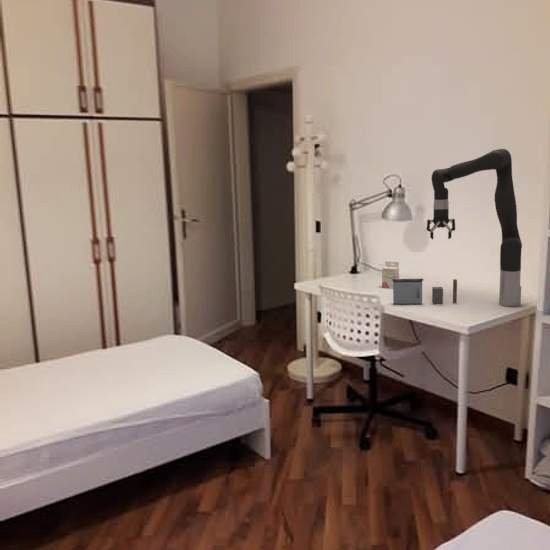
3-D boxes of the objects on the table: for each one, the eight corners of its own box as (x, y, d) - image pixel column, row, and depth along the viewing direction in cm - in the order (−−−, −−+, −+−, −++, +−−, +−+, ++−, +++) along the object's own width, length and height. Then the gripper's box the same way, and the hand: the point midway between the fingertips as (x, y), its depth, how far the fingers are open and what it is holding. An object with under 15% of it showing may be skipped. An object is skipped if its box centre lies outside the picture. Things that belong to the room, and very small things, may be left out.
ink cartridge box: (381, 287, 329) (381, 262, 326) (385, 286, 333) (385, 261, 330) (395, 289, 325) (395, 263, 322) (399, 287, 329) (399, 261, 326)
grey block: (421, 302, 290) (422, 281, 288) (422, 304, 288) (422, 282, 286) (393, 303, 292) (393, 281, 290) (393, 304, 290) (393, 282, 288)
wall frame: (455, 302, 290) (456, 277, 287) (457, 304, 287) (457, 278, 284) (392, 302, 295) (392, 278, 292) (392, 304, 291) (392, 279, 289)
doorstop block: (441, 302, 292) (441, 286, 290) (442, 304, 287) (443, 288, 286) (432, 302, 293) (432, 286, 291) (433, 304, 288) (433, 289, 287)
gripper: (427, 209, 296) (427, 240, 299) (456, 208, 294) (455, 239, 297) (426, 207, 304) (426, 238, 307) (454, 207, 301) (453, 237, 305)
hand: (440, 239), depth 302 cm, fingers open, 8 cm apart
